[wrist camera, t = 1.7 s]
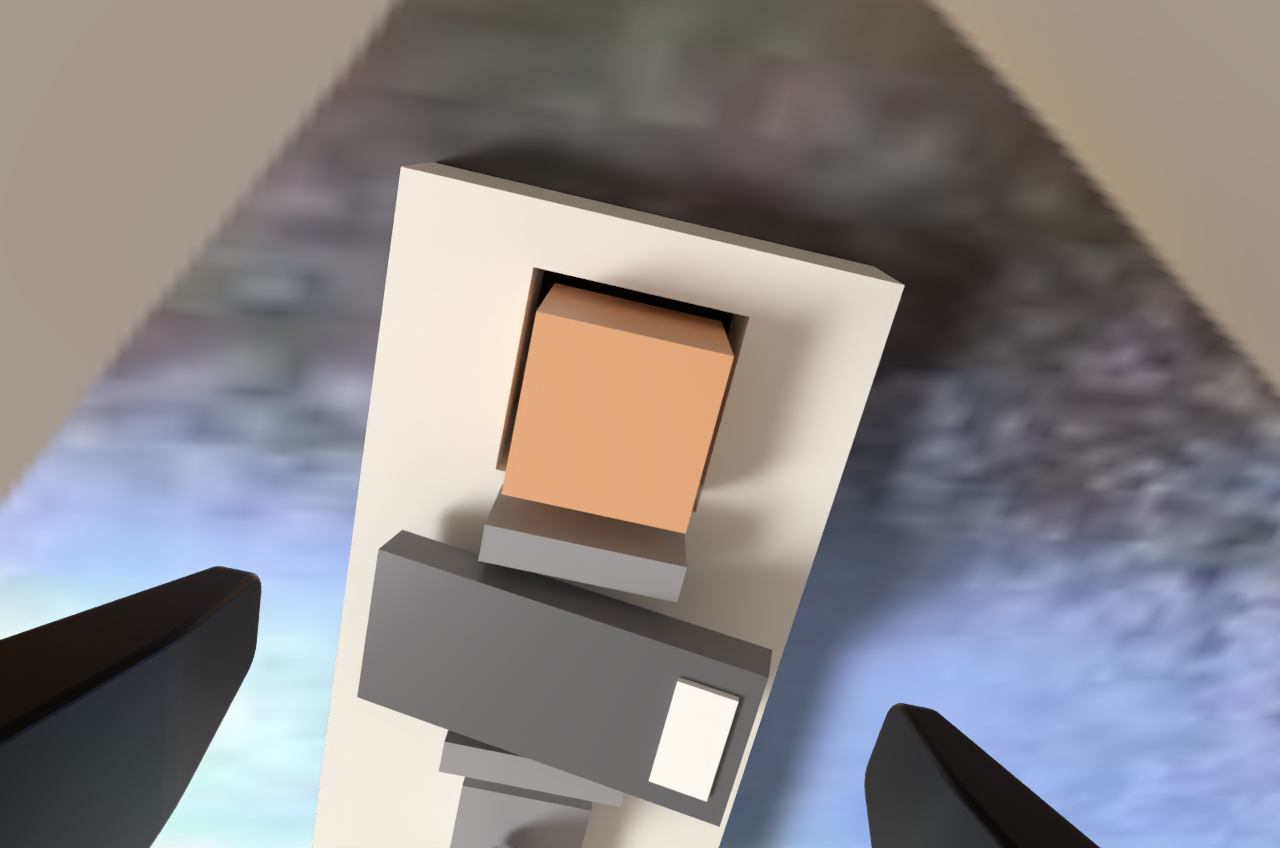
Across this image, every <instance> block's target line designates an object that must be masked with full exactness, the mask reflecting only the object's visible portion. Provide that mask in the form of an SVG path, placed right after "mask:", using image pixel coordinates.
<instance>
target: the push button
mask: <svg viewBox="0 0 1280 848" xmlns="http://www.w3.org/2000/svg"><path fill="white" fill-rule="evenodd" d="M733 358H734V355H733V352H732V349H731V347H730V344H729V341H728V338H727V335H726V333H725V330H724V327H723V324H722V322H721V321H718V320H714V319H709V318H705V317H701V316H696V315H692V314H688V313H683V312H679V311H674V310H670V309H666V308H661V307H657V306H653V305H648V304H644V303H640V302H635V301H631V300H627V299H622V298H618V297H614V296H609V295H605V294H601V293H596V292H592V291H588V290H583V289H579V288H575V287H570V286H566V285H561V284H557V283H555V284H554V285H553V287H552V288H551V290H550V291H549V293H548V294H547V296H546V297H545V299H544V300H543V302H542V303H541V305H540V307H539V308H538V310H537V311H536V316H535V321H534V326H533V331H532V337H531V342H530V347H529V352H528V357H527V363H526V368H525V373H524V378H523V384H522V389H521V394H520V399H519V405H518V410H517V415H516V420H515V425H514V431H513V436H512V441H511V446H510V452H509V457H508V462H507V467H506V472H505V478H504V483H503V488H502V493H501V494H503V495H508V496H512V497H517V498H522V499H526V500H531V501H536V502H540V503H545V504H550V505H554V506H559V507H564V508H568V509H573V510H578V511H582V512H587V513H592V514H596V515H601V516H606V517H610V518H615V519H620V520H624V521H629V522H634V523H638V524H643V525H648V526H652V527H657V528H661V529H666V530H671V531H675V532H680V533H685V534H686V531H687V527H688V523H689V520H690V516H691V512H692V509H693V505H694V501H695V498H696V494H697V490H698V487H699V483H700V479H701V476H702V472H703V468H704V465H705V461H706V457H707V454H708V450H709V446H710V443H711V439H712V435H713V432H714V428H715V424H716V421H717V417H718V413H719V410H720V406H721V402H722V399H723V395H724V391H725V388H726V384H727V380H728V377H729V373H730V369H731V366H732V362H733Z"/></svg>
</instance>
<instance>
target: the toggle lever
mask: <svg viewBox="0 0 1280 848" xmlns="http://www.w3.org/2000/svg"><path fill="white" fill-rule="evenodd" d="M490 848H516V847H514V846H512V845H508V844H498V845H495V846H492V847H490Z"/></svg>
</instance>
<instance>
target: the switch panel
mask: <svg viewBox="0 0 1280 848" xmlns="http://www.w3.org/2000/svg"><path fill="white" fill-rule="evenodd" d="M544 270H548V271H553V272H557V273H561V274H566V275H570V276H574V277H579V278H583V279H587V280H592V281H596V282H600V283H605V284H609V285H613V286H617V287H622V288H626V289H630V290H635V291H639V292H643V293H648V294H652V295H656V296H661V297H665V298H669V299H674V300H678V301H682V302H687V303H691V304H695V305H700V306H704V307H708V308H713V309H717V310H721V311H726V312H730V313H733V315H732V319H731V322H730V326H729V330H728V334H727V338H728V341H729V344H730V347H731V349H732V352H733V355H734V358H733V362H732V366H731V369H730V373H729V377H728V380H727V384H726V388H725V391H724V395H723V399H722V402H721V406H720V410H719V413H718V417H717V421H716V424H715V428H714V432H713V435H712V439H711V443H710V446H709V450H708V454H707V457H706V461H705V465H704V468H703V472H702V476H701V479H700V483H699V487H698V490H697V494H696V498H695V501H694V505H693V509H692V512H691V516H690V520H689V523H688V527H687V531H686V534H685V533H680V532H675V531H671V530H666V529H661V528H657V527H652V526H648V525H643V524H638V523H634V522H629V521H624V520H620V519H615V518H610V517H606V516H601V515H596V514H592V513H587V512H582V511H578V510H573V509H568V508H564V507H559V506H554V505H550V504H545V503H540V502H536V501H531V500H526V499H522V498H517V497H512V496H508V495H503V494H501V493H502V488H503V483H504V478H505V472H506V467H507V462H508V457H509V452H510V446H511V441H512V436H513V431H514V425H515V420H516V415H517V410H518V405H519V399H520V394H521V389H522V384H523V378H524V373H525V368H526V363H527V357H528V352H529V347H530V342H531V337H532V331H533V326H534V321H535V316H536V311H537V307H538V301H539V296H540V291H541V286H542V280H543V275H544ZM904 286H905V285H903V284H902V283H900V282H899V281H897V280H895V279H894V278H892V277H890V276H889V275H887V274H885V273H884V272H882V271H880V270H879V269H877V268H875V267H874V266H870V265H865V264H861V263H857V262H853V261H849V260H844V259H840V258H836V257H832V256H827V255H823V254H819V253H815V252H810V251H806V250H802V249H798V248H794V247H789V246H785V245H781V244H777V243H772V242H768V241H764V240H760V239H756V238H751V237H747V236H743V235H739V234H734V233H730V232H726V231H722V230H717V229H713V228H709V227H705V226H701V225H696V224H692V223H688V222H684V221H679V220H675V219H671V218H667V217H662V216H658V215H654V214H650V213H646V212H641V211H637V210H633V209H629V208H624V207H620V206H616V205H612V204H607V203H603V202H599V201H595V200H591V199H586V198H582V197H578V196H574V195H569V194H565V193H561V192H557V191H552V190H548V189H544V188H540V187H536V186H531V185H527V184H523V183H519V182H514V181H510V180H506V179H502V178H498V177H493V176H489V175H485V174H481V173H476V172H472V171H468V170H464V169H459V168H455V167H451V166H447V165H443V164H438V163H434V162H432V163H425V164H417V165H410V166H402V167H401V172H400V179H399V187H398V195H397V202H396V210H395V217H394V225H393V233H392V240H391V248H390V255H389V263H388V271H387V278H386V286H385V293H384V301H383V309H382V316H381V324H380V331H379V339H378V347H377V354H376V362H375V369H374V377H373V385H372V392H371V400H370V407H369V415H368V422H367V430H366V438H365V445H364V453H363V460H362V468H361V476H360V483H359V491H358V498H357V506H356V514H355V521H354V529H353V536H352V544H351V552H350V559H349V567H348V574H347V582H346V590H345V597H344V605H343V612H342V620H341V628H340V635H339V643H338V650H337V658H336V666H335V673H334V681H333V688H332V696H331V704H330V711H329V719H328V726H327V734H326V742H325V749H324V757H323V764H322V772H321V780H320V787H319V795H318V802H317V810H316V818H315V825H314V833H313V840H312V848H490V847H492V846H495V845H498V844H508V845H512V846H514V847H516V848H719V845H720V842H721V839H722V836H723V833H724V830H725V827H726V824H727V821H728V818H729V815H730V812H731V809H732V806H733V803H734V800H735V797H736V794H737V791H738V788H739V785H740V782H741V779H742V776H743V773H744V770H745V767H746V763H747V760H748V757H749V754H750V751H751V748H752V745H753V742H754V739H755V736H756V733H757V730H758V727H759V724H760V721H761V718H762V715H763V712H764V709H765V706H766V703H767V700H768V697H769V694H770V691H771V688H772V685H773V682H774V679H775V676H776V673H777V670H778V667H779V664H780V661H781V658H782V655H783V652H784V649H785V646H786V643H787V640H788V637H789V634H790V630H791V627H792V624H793V621H794V618H795V615H796V612H797V609H798V606H799V603H800V600H801V597H802V594H803V591H804V588H805V585H806V582H807V579H808V576H809V573H810V570H811V567H812V564H813V561H814V558H815V555H816V552H817V549H818V546H819V543H820V540H821V537H822V534H823V531H824V528H825V525H826V522H827V519H828V516H829V513H830V510H831V507H832V504H833V501H834V497H835V494H836V491H837V488H838V485H839V482H840V479H841V476H842V473H843V470H844V467H845V464H846V461H847V458H848V455H849V452H850V449H851V446H852V443H853V440H854V437H855V434H856V431H857V428H858V425H859V422H860V419H861V416H862V413H863V410H864V407H865V404H866V401H867V398H868V395H869V392H870V389H871V386H872V383H873V380H874V377H875V374H876V371H877V368H878V364H879V361H880V358H881V355H882V352H883V349H884V346H885V343H886V340H887V337H888V334H889V331H890V328H891V325H892V322H893V319H894V316H895V313H896V310H897V307H898V304H899V301H900V298H901V295H902V292H903V289H904ZM401 530H405V531H408V532H411V533H414V534H417V535H420V536H423V537H426V538H430V539H433V540H436V541H439V542H442V543H445V544H448V545H451V546H454V547H457V548H460V549H463V550H467V551H470V552H473V553H476V554H479V559H478V561H482V562H486V563H491V564H496V565H501V566H505V567H510V568H515V569H520V570H525V571H529V572H534V573H537V574H540V575H544V576H547V577H550V578H553V579H556V580H559V581H562V582H565V583H568V584H571V585H574V586H577V587H581V588H584V589H587V590H590V591H593V592H596V593H599V594H602V595H605V596H608V597H611V598H614V599H617V600H621V601H624V602H627V603H630V604H633V605H636V606H639V607H642V608H645V609H648V610H651V611H654V612H658V613H661V614H664V615H667V616H670V617H673V618H676V619H679V620H682V621H685V622H688V623H691V624H695V625H698V626H701V627H704V628H707V629H710V630H713V631H716V632H719V633H722V634H725V635H728V636H731V637H735V638H738V639H741V640H744V641H747V642H750V643H753V644H756V645H759V646H762V647H765V648H768V649H772V657H771V664H770V671H769V678H768V681H767V684H766V687H765V690H764V693H763V696H762V699H761V702H760V705H759V708H758V712H757V715H756V718H755V721H754V724H753V727H752V730H751V733H750V736H749V739H748V742H747V745H746V748H745V751H744V754H743V757H742V760H741V763H740V766H739V769H738V773H737V776H736V779H735V782H734V785H733V788H732V791H731V794H730V797H729V800H728V803H727V806H726V809H725V812H724V815H723V818H722V821H721V824H720V827H718V826H716V825H713V824H710V823H707V822H704V821H702V820H699V819H696V818H693V817H690V816H688V815H685V814H682V813H679V812H676V811H674V810H671V809H668V808H665V807H663V806H660V805H657V804H654V803H651V802H649V801H646V800H643V799H640V798H637V797H635V796H632V795H629V794H626V793H623V792H621V791H618V790H615V789H612V788H609V787H607V786H604V785H601V784H598V783H595V782H593V781H590V780H587V779H584V778H581V777H579V776H576V775H573V774H570V773H567V772H565V771H562V770H559V769H556V768H553V767H551V766H548V765H545V764H542V763H539V762H537V761H534V760H531V759H528V758H526V757H523V756H520V755H517V754H514V753H512V752H509V751H506V750H503V749H500V748H498V747H495V746H492V745H489V744H486V743H484V742H481V741H478V740H475V739H472V738H470V737H467V736H464V735H461V734H458V733H456V732H453V731H450V730H447V729H444V728H442V727H439V726H436V725H433V724H430V723H428V722H425V721H422V720H419V719H416V718H414V717H411V716H408V715H405V714H402V713H400V712H397V711H394V710H391V709H389V708H386V707H383V706H380V705H377V704H375V703H372V702H369V701H366V700H363V699H361V698H358V697H357V695H358V688H359V681H360V674H361V667H362V660H363V653H364V646H365V639H366V632H367V625H368V618H369V611H370V604H371V597H372V590H373V583H374V576H375V569H376V562H377V555H378V549H379V548H380V547H382V546H383V545H384V544H385V543H387V542H388V541H389V540H390V539H392V538H393V537H394V536H395V535H396V534H398V533H399V532H400V531H401Z"/></svg>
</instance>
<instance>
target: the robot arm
mask: <svg viewBox="0 0 1280 848" xmlns="http://www.w3.org/2000/svg"><path fill="white" fill-rule="evenodd" d="M260 599H261V582H260V579H259V577H258V576H257V575H256V574H254V573H251V572H246V571H242V570H237V569H232V568H227V567H222V566H216V567H212V568H209V569H206V570H203V571H200V572H197V573H194V574H191V575H188V576H186V577H183V578H180V579H177V580H174V581H171V582H168V583H165V584H162V585H159V586H156V587H153V588H150V589H148V590H145V591H142V592H139V593H136V594H133V595H130V596H127V597H124V598H121V599H118V600H115V601H113V602H110V603H107V604H104V605H101V606H98V607H95V608H92V609H89V610H86V611H83V612H80V613H77V614H75V615H72V616H69V617H66V618H63V619H60V620H57V621H54V622H51V623H48V624H45V625H42V626H39V627H37V628H34V629H31V630H28V631H25V632H22V633H19V634H16V635H13V636H10V637H7V638H4V639H1V640H0V848H150V847H151V845H152V844H153V842H154V841H155V839H156V838H157V836H158V835H159V833H160V832H161V830H162V829H163V827H164V825H165V824H166V822H167V821H168V819H169V818H170V816H171V814H172V813H173V811H174V810H175V808H176V806H177V805H178V803H179V801H180V799H181V797H182V796H183V794H184V792H185V790H186V788H187V787H188V785H189V783H190V781H191V779H192V777H193V775H194V773H195V772H196V770H197V768H198V766H199V764H200V762H201V760H202V758H203V756H204V754H205V753H206V751H207V749H208V747H209V745H210V743H211V741H212V739H213V737H214V735H215V734H216V732H217V730H218V728H219V726H220V724H221V722H222V720H223V718H224V716H225V715H226V713H227V711H228V709H229V707H230V705H231V703H232V701H233V699H234V697H235V696H236V694H237V692H238V690H239V688H240V686H241V684H242V682H243V680H244V678H245V677H246V675H247V673H248V671H249V669H250V666H251V664H252V661H253V658H254V654H255V650H256V644H257V633H258V622H259V611H260ZM864 788H865V798H866V806H867V814H868V822H869V830H870V838H871V846H872V848H1100V847H1099V846H1097V845H1096V844H1095V843H1094V842H1093V841H1091V840H1090V839H1089V838H1088V837H1087V836H1085V835H1084V834H1083V833H1082V832H1081V831H1079V830H1078V829H1077V828H1076V827H1075V826H1073V825H1072V824H1071V823H1070V822H1069V821H1067V820H1066V819H1065V818H1064V817H1063V816H1061V815H1060V814H1059V813H1058V812H1057V811H1055V810H1054V809H1053V808H1052V807H1051V806H1049V805H1048V804H1047V803H1046V802H1045V801H1043V800H1042V799H1041V798H1040V797H1039V796H1037V795H1036V794H1035V793H1034V792H1033V791H1031V790H1030V789H1029V788H1028V787H1027V786H1025V785H1024V784H1023V783H1022V782H1021V781H1019V780H1018V779H1017V778H1016V777H1015V776H1013V775H1012V774H1011V773H1010V772H1009V771H1007V770H1006V769H1005V768H1004V767H1003V766H1002V765H1000V764H999V763H998V762H997V761H996V760H994V759H993V758H992V757H991V756H990V755H988V754H987V753H986V752H985V751H984V750H982V749H981V748H980V747H979V746H978V745H976V744H975V743H974V742H973V741H972V740H970V739H969V738H968V737H967V736H966V735H964V734H963V733H962V732H961V731H960V730H958V729H957V728H956V727H955V726H954V725H952V724H951V723H950V722H949V721H948V720H946V719H945V718H944V717H943V716H942V715H940V714H939V713H938V712H936V711H935V710H932V709H929V708H924V707H919V706H914V705H909V704H904V703H898V704H896V705H894V706H892V707H891V709H890V710H889V711H888V713H887V715H886V718H885V720H884V723H883V725H882V728H881V731H880V733H879V736H878V738H877V741H876V744H875V746H874V749H873V751H872V754H871V757H870V759H869V762H868V765H867V768H866V773H865V786H864Z"/></svg>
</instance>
